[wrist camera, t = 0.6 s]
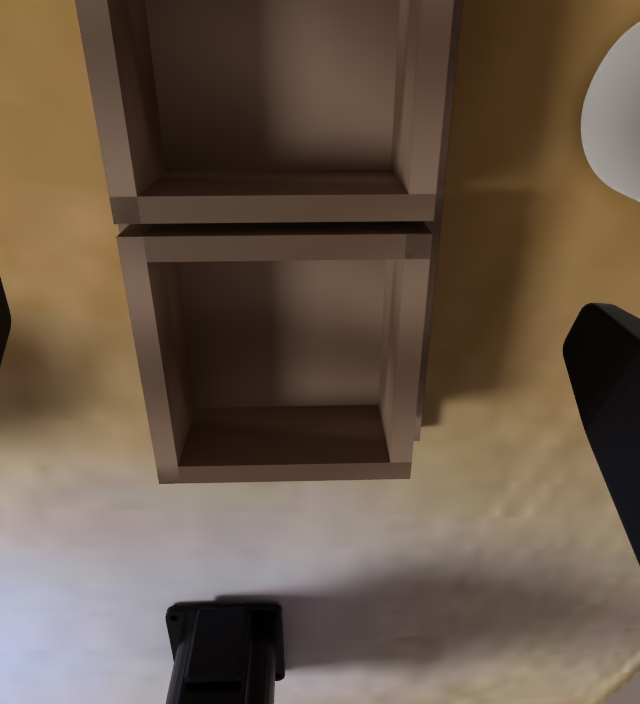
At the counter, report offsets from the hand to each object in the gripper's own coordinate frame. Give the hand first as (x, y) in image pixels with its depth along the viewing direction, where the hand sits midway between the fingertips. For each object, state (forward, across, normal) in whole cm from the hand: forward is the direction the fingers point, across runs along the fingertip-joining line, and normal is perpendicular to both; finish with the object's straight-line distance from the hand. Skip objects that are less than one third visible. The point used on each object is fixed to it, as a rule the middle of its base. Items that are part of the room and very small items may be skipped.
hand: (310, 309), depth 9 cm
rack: (+13, 0, +4) cm, 14 cm away
